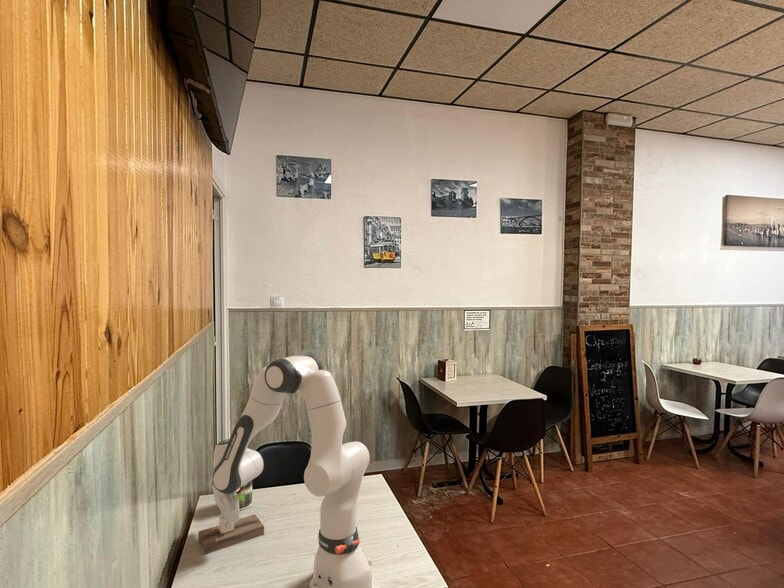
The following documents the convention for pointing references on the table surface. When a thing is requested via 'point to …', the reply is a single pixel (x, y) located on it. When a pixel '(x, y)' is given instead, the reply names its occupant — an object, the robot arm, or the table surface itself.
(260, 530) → the brown slider board
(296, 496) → the table surface
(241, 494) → the coffee can
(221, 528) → the fader tab
